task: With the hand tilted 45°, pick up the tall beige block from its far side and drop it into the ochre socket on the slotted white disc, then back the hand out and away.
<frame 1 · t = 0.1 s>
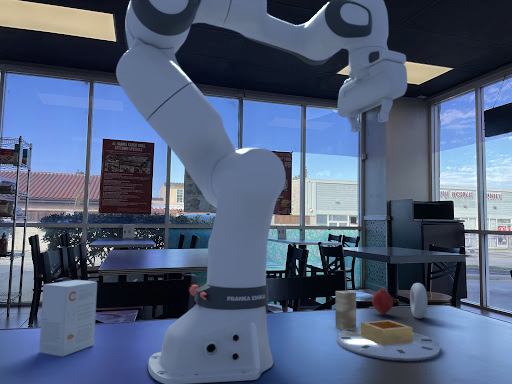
hand: (368, 126, 88), 48 cm above the table, tool pointing down, fingers open, 8 cm apart
slotted white disc: (386, 344, 85), on the table
tall beige block: (345, 328, 99), on the table
onion: (382, 315, 116), on the table
small box: (67, 350, 78), on the table
donut: (418, 319, 112), on the table
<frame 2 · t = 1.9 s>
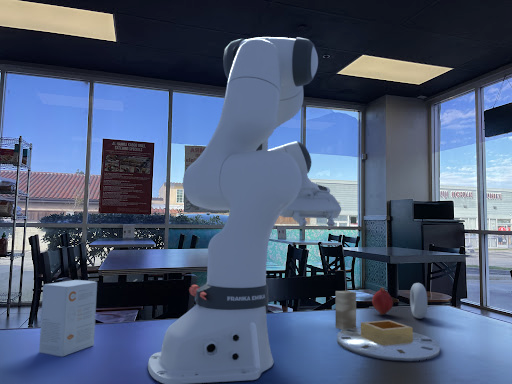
hand: (318, 225, 115), 26 cm above the table, tool tilted 45°, fingers open, 8 cm apart
nothing on the table moved.
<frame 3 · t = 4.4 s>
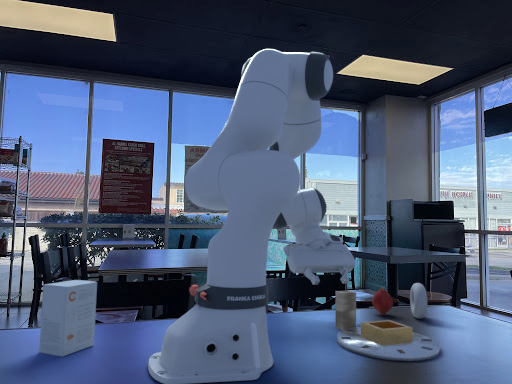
hand: (331, 282, 106), 10 cm above the table, tool tilted 45°, fingers open, 8 cm apart
nothing on the table moved.
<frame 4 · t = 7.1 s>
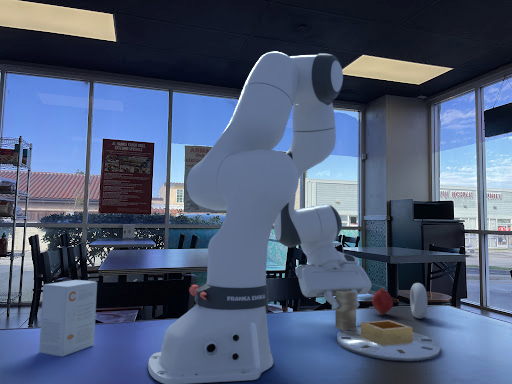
hand: (347, 307, 99), 5 cm above the table, tool tilted 45°, fingers closed on tall beige block, 4 cm apart
tall beige block: (345, 328, 99), on the table, touching gripper
everything else where it was.
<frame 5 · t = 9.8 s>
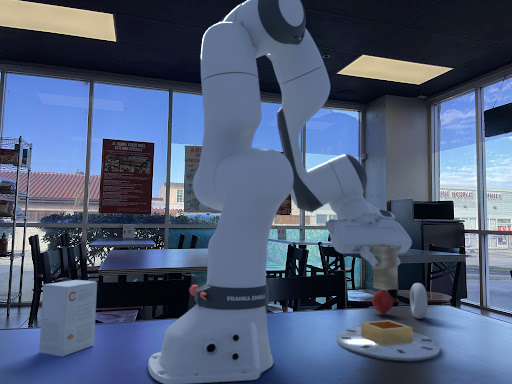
hand: (387, 264, 86), 17 cm above the table, tool tilted 45°, fingers closed on tall beige block, 4 cm apart
tall beige block: (385, 288, 86), point 12 cm above the table, touching gripper
everything else where it was.
when the fingers open (8 cm above the table, at t = 12.7 s): tall beige block drops 1 cm, resting on slotted white disc.
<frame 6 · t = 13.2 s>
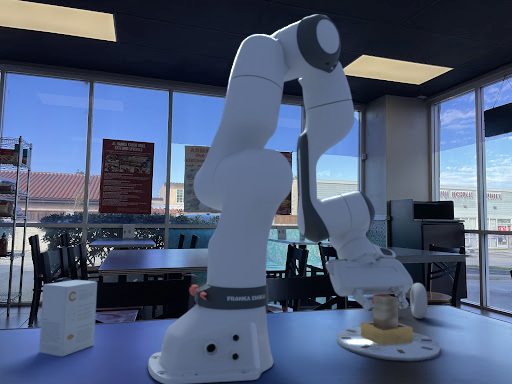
hand: (387, 308, 85), 8 cm above the table, tool tilted 45°, fingers open, 8 cm apart
tall beige block: (385, 339, 85), point 1 cm above the table, touching slotted white disc
everything else where it was.
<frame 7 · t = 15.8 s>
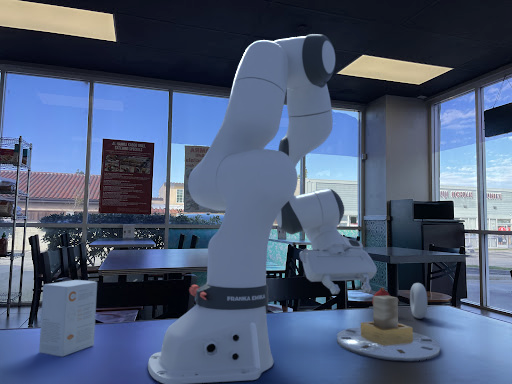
hand: (352, 291, 97), 9 cm above the table, tool tilted 45°, fingers open, 8 cm apart
nothing on the table moved.
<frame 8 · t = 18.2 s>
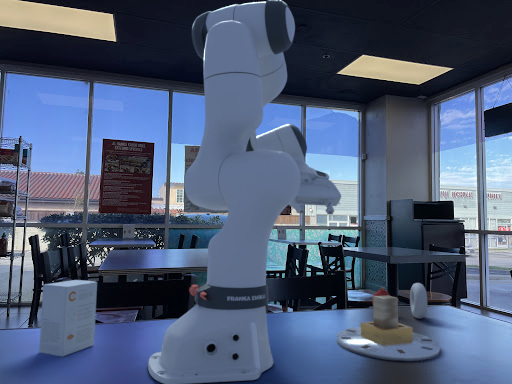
hand: (316, 212, 106), 29 cm above the table, tool tilted 45°, fingers open, 8 cm apart
nothing on the table moved.
at the end: tall beige block 0.1 cm off-centre on the slotted white disc, point 1.2 cm above the slotted white disc's base; tall beige block tilted 0°; the gripper is holding nothing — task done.
